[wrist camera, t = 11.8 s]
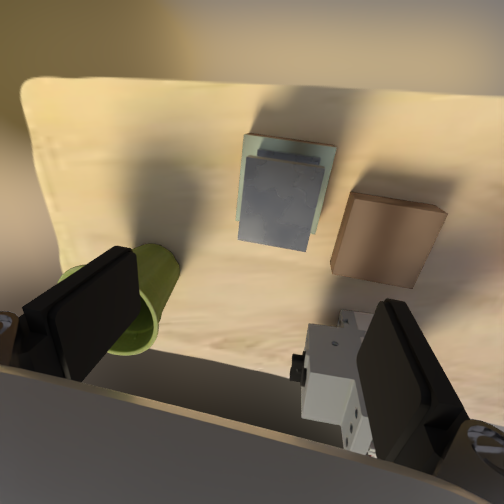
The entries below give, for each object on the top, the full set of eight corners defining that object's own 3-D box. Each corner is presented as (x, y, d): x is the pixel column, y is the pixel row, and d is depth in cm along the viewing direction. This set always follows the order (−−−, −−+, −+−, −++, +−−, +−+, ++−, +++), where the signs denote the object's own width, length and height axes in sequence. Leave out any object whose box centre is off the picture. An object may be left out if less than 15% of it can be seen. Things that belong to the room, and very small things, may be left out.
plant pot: (187, 225, 35) (141, 267, 25) (201, 300, 40) (168, 359, 30) (107, 226, 37) (36, 265, 27) (130, 297, 42) (77, 352, 33)
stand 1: (333, 145, 28) (336, 147, 26) (314, 224, 32) (315, 234, 30) (249, 133, 29) (243, 134, 26) (240, 212, 33) (235, 220, 31)
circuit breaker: (295, 303, 38) (292, 403, 24) (403, 317, 36) (463, 434, 23) (290, 343, 41) (284, 450, 28) (389, 358, 39) (433, 480, 26)
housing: (320, 157, 26) (325, 168, 20) (305, 224, 29) (305, 252, 23) (259, 148, 27) (246, 156, 21) (251, 214, 30) (237, 239, 24)
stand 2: (434, 205, 29) (447, 213, 26) (403, 275, 33) (412, 288, 31) (350, 191, 30) (354, 198, 27) (329, 262, 34) (332, 274, 31)
